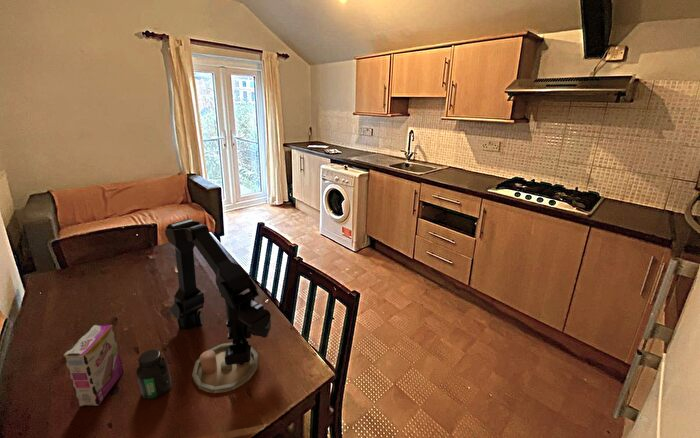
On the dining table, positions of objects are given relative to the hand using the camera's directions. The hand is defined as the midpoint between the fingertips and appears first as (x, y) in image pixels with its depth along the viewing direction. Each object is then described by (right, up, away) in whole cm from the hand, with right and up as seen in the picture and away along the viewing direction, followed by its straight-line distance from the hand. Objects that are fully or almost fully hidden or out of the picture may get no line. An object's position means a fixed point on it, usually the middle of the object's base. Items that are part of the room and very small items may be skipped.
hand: (242, 358), depth 93 cm
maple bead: (0, -1, 0) cm, 1 cm away
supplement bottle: (-20, -6, -8) cm, 22 cm away
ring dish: (-5, -3, 0) cm, 5 cm away
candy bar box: (-35, -5, -7) cm, 36 cm away
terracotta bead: (-9, -2, -2) cm, 9 cm away
